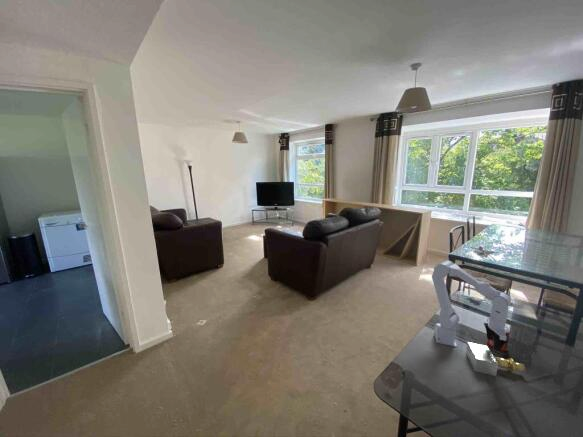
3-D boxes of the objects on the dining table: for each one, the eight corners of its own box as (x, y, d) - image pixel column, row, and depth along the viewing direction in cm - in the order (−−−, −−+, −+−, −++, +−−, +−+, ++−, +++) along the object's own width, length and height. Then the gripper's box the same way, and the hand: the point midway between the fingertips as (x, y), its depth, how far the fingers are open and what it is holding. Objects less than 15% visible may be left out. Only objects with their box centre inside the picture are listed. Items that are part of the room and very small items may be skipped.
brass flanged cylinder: (497, 371, 108) (499, 360, 107) (492, 362, 113) (494, 352, 112) (525, 377, 104) (528, 367, 103) (519, 368, 109) (521, 358, 108)
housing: (474, 370, 108) (476, 358, 107) (465, 353, 119) (467, 341, 118) (495, 376, 105) (498, 363, 104) (485, 357, 116) (487, 345, 115)
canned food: (509, 353, 119) (512, 333, 117) (489, 348, 122) (492, 329, 121) (503, 343, 126) (506, 325, 124) (485, 339, 129) (487, 321, 128)
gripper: (517, 329, 101) (511, 357, 104) (501, 311, 114) (496, 336, 117) (496, 325, 104) (492, 352, 106) (483, 308, 117) (479, 333, 119)
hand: (493, 344), depth 112 cm, fingers open, 7 cm apart
